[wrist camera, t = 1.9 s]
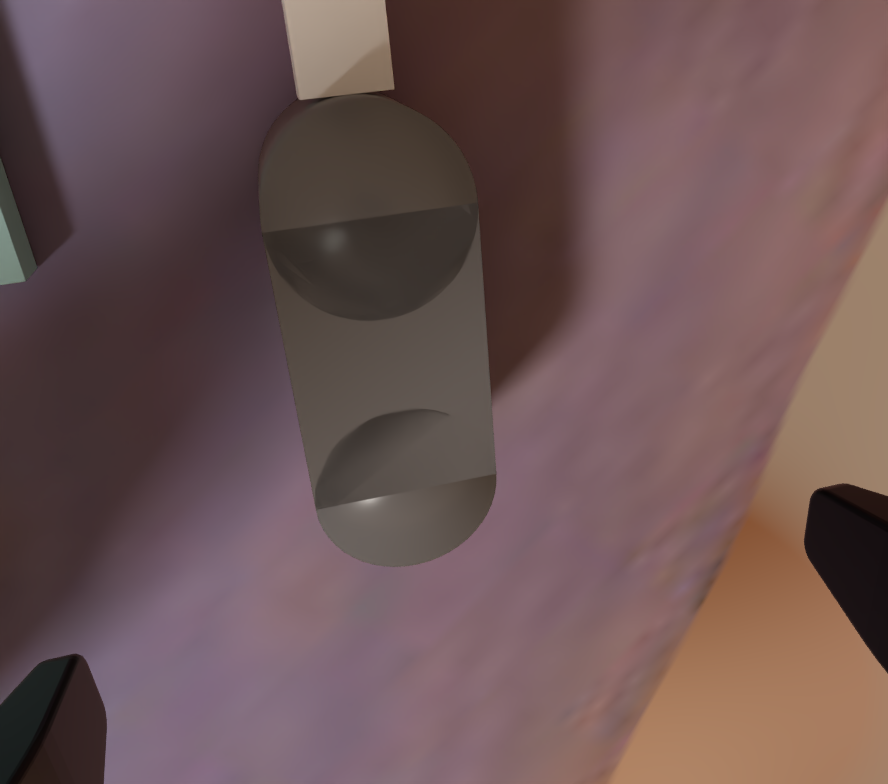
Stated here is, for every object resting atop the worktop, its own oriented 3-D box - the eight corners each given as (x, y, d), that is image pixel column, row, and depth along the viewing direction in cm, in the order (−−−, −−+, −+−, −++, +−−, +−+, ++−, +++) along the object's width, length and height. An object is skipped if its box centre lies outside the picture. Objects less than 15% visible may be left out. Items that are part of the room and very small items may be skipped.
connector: (459, 460, 21) (501, 546, 18) (316, 488, 21) (330, 582, 17) (413, -49, 16) (459, -71, 12) (216, -32, 15) (206, -50, 12)
